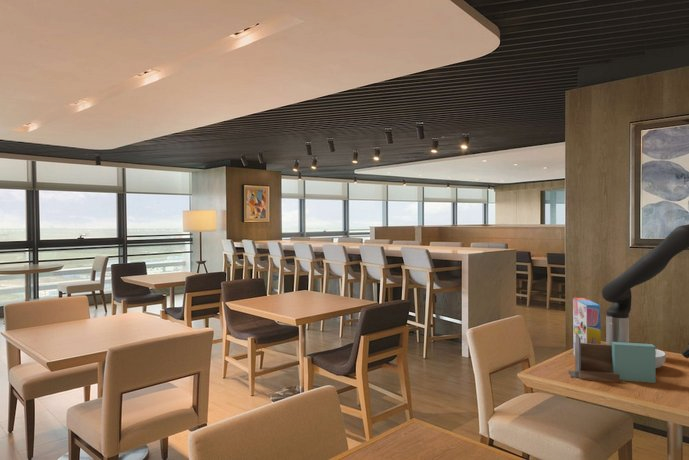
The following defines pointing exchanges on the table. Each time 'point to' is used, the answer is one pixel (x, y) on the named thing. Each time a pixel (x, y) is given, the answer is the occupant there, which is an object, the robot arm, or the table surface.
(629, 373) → the book box
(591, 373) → the shelf slot
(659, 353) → the cereal bowl
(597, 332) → the game box
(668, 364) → the table surface
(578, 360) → the bookend
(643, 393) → the table surface
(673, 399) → the table surface
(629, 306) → the robot arm
